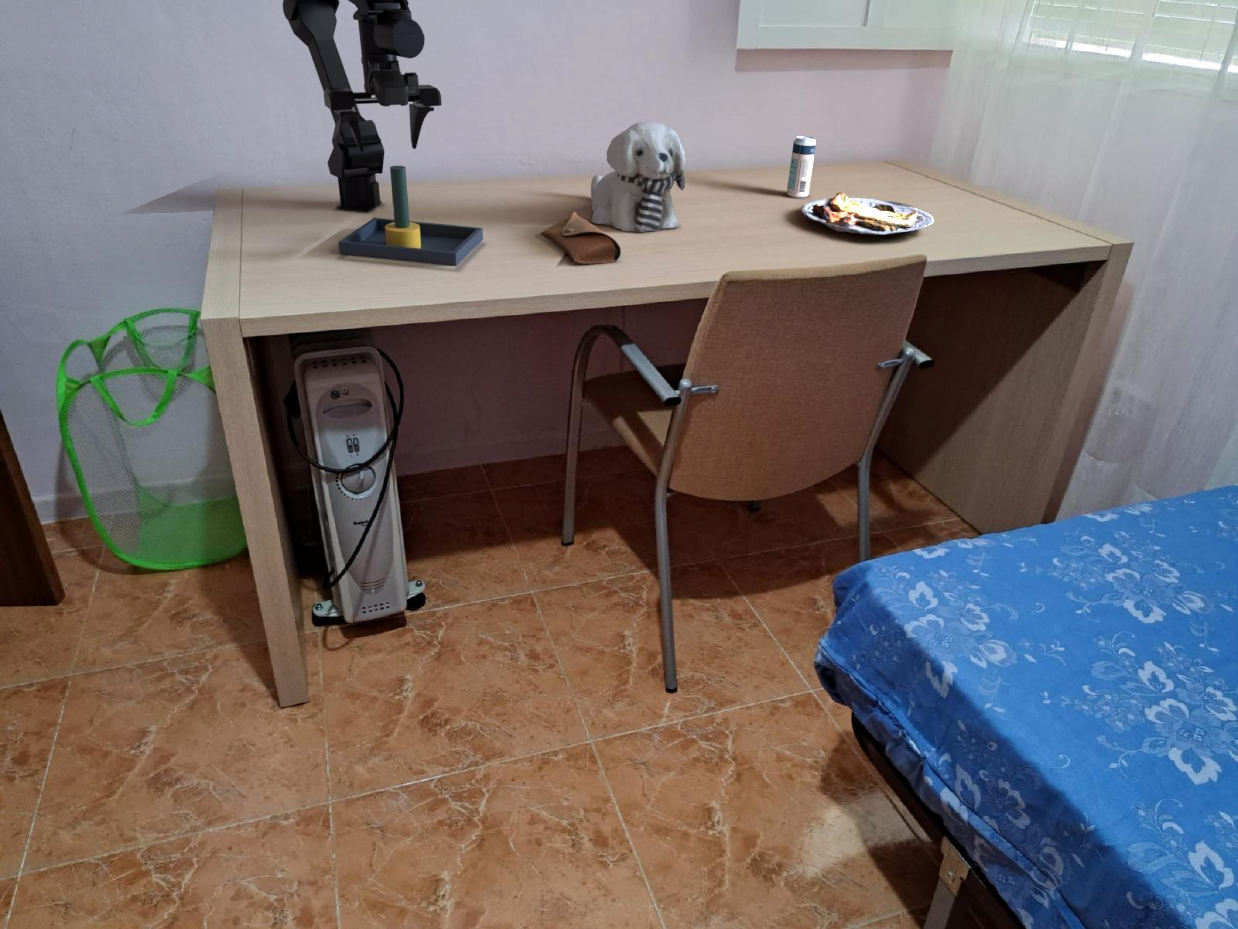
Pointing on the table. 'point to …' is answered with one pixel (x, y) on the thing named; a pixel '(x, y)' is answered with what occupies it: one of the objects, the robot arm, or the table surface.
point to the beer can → (801, 166)
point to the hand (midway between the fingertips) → (388, 150)
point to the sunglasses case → (583, 241)
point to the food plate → (865, 215)
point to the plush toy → (640, 179)
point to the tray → (436, 248)
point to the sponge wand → (401, 214)
